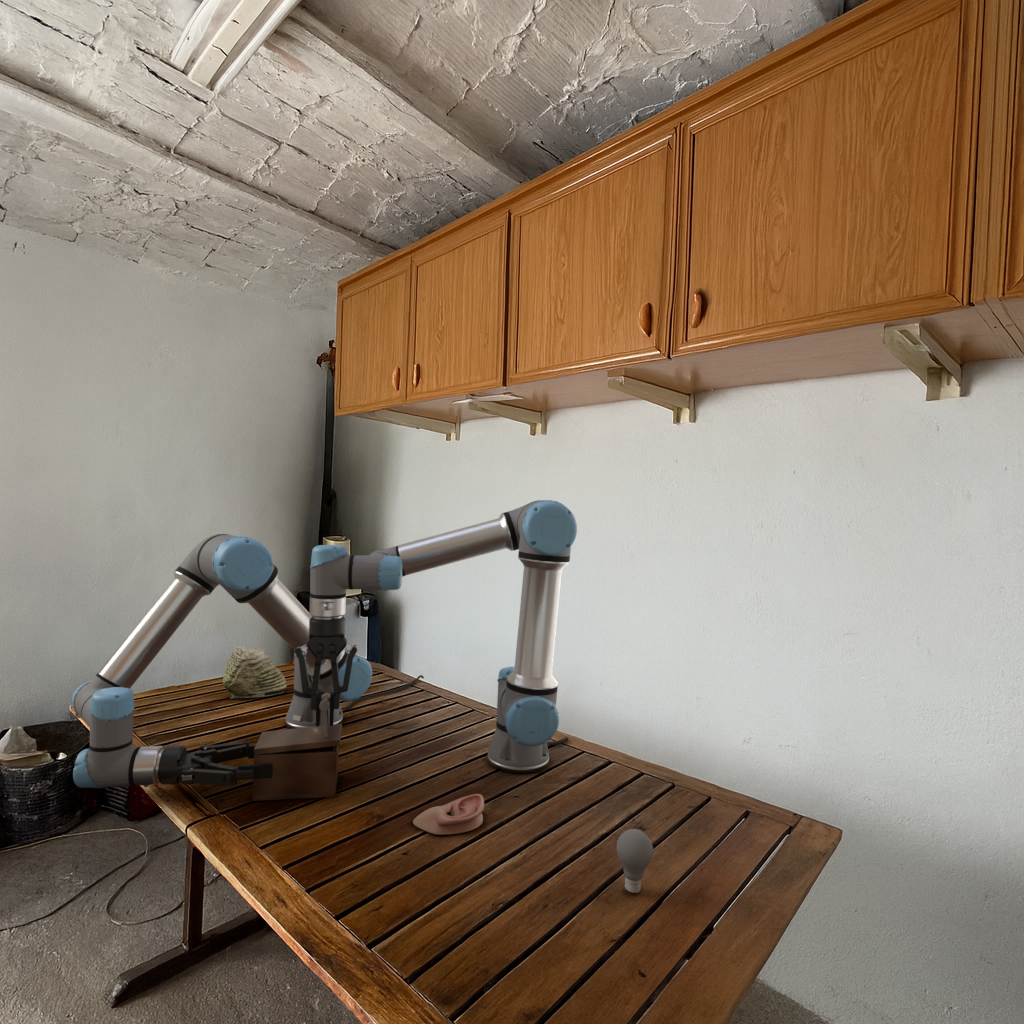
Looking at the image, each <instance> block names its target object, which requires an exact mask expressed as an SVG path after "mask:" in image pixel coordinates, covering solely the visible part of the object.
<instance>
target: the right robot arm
mask: <svg viewBox="0 0 1024 1024" xmlns="http://www.w3.org/2000/svg"><path fill="white" fill-rule="evenodd" d="M577 535H578V523H577V520H576V518H575V516H574V514H573V512H572V511H571V510H570V508H568V506H566V505H564V504H563V503H562V502H559V501H558V500H552V499H538V500H534V501H531V502H529V503H526V504H524V505H522V506H520V507H517V508H515V509H511V510H508V511H505V512H502V513H500V515H499V516H498V517H497V518H495V519H491V520H488V521H483V522H480V523H476V524H473V525H468V526H465V527H461V528H457V529H454V530H450V531H446V532H443V533H438V534H435V535H432V536H427V537H424V538H420V539H416V540H413V541H409V542H405V543H402V544H398V545H396V546H391V547H388V548H380V549H376V550H373V551H372V552H371V553H369V554H368V555H366V554H365V555H355V554H349V552H348V548H347V546H345V545H340V544H319V545H316V546H314V547H313V548H312V549H311V550H312V551H311V557H310V566H309V568H310V569H309V571H310V573H309V574H310V576H309V577H310V579H309V580H310V586H309V587H310V589H309V593H310V594H309V613H310V615H311V616H312V617H311V618H310V619H309V638H308V640H307V642H306V644H304V645H302V646H298V647H297V648H296V649H295V650H294V655H295V654H296V655H297V657H298V659H299V667H300V675H301V684H302V692H303V693H308V694H310V695H311V710H316V726H319V725H320V716H321V710H320V708H319V705H320V701H321V693H318V685H319V677H320V670H321V663H322V660H325V659H328V660H331V669H332V680H333V692H331V694H330V720H329V726H333V723H334V709H338V708H339V703H340V704H341V702H340V694H341V693H342V692H347V691H348V686H349V680H350V674H351V668H352V661H353V657H354V656H355V654H356V655H357V652H358V645H357V644H351V643H349V642H348V640H347V638H346V617H345V616H344V615H346V612H347V611H346V610H347V590H350V591H351V590H352V591H353V590H362V591H363V590H364V591H365V590H366V591H384V592H386V591H398V590H400V589H401V588H402V583H403V577H406V576H409V575H413V574H417V573H421V572H424V571H428V570H430V569H432V570H433V569H435V568H438V567H442V566H446V565H450V564H454V563H458V562H461V561H465V560H468V559H473V558H476V557H479V556H484V555H488V554H492V553H494V552H500V551H502V550H506V549H507V550H509V551H510V552H513V551H517V550H518V556H517V559H518V560H519V561H520V562H521V564H522V565H523V574H522V585H521V595H520V606H519V614H518V615H519V617H518V627H517V636H516V637H517V638H516V647H515V659H514V666H506V667H503V668H501V669H499V671H498V677H497V681H496V682H497V701H496V724H495V725H496V726H495V731H494V734H493V735H492V739H491V741H490V744H489V746H488V750H487V762H488V763H489V765H490V766H492V767H493V768H495V769H497V770H499V771H503V772H506V773H512V774H531V773H536V772H540V771H542V770H544V769H546V768H547V767H548V766H549V764H550V752H549V748H548V747H549V746H556V745H560V744H564V743H566V742H568V741H569V740H570V739H569V737H567V736H566V737H563V738H562V739H559V740H552V738H553V737H554V736H555V734H556V733H557V730H558V728H559V724H560V715H559V710H558V708H557V699H558V687H559V682H558V680H557V679H556V677H554V675H553V668H554V659H555V646H556V637H557V626H558V616H559V606H560V605H559V604H560V595H561V594H560V593H561V583H562V572H563V569H565V567H567V566H568V565H569V564H570V562H571V551H572V546H573V545H574V543H575V540H576V538H577ZM344 648H346V653H347V654H348V657H347V663H346V669H345V675H344V682H343V685H341V686H340V684H339V673H338V659H337V657H338V656H339V654H340V653H341V652H342V651H343V649H344ZM307 649H309V650H310V651H311V653H312V654H313V655H314V657H315V658H316V659H315V668H314V675H313V682H312V687H311V686H309V680H308V671H307V663H306V656H305V655H306V654H307ZM550 740H551V741H550Z"/></svg>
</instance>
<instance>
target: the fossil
mask: <svg viewBox="0 0 1024 1024" xmlns="http://www.w3.org/2000/svg"><path fill="white" fill-rule="evenodd" d="M222 676H223V677H222V685H223V687H224V688H225V690H226V691H228V693H229V698H230V699H250V698H264V697H271V696H275V695H281V694H284V693H285V691H286V689H287V687H288V686H287V680H286V678H285V676H284V674H283V673H282V672H281V669H279V668H278V667H277V665H276V663H275V662H274V660H273V659H272V658H271V657H270V656H269V655H268V654H267V653H266V652H265V650H264V649H263V648H260V647H258V648H251V647H247V646H246V647H245V646H238V647H237V648H236V649H235V650H233V651H232V653H231V656H230V657H229V659H228V660H227V663H226V666H225V668H224V671H223V675H222Z"/></svg>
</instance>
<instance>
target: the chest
mask: <svg viewBox="0 0 1024 1024" xmlns="http://www.w3.org/2000/svg"><path fill="white" fill-rule="evenodd" d="M339 752H340V745H339V746H331V747H322V748H313V749H304V750H295V751H286V752H277V753H268V754H259V755H254V759H253V764H273V769H272V778H262V779H252V798H251V799H252V802H259V801H261V802H262V801H277V800H294V799H296V800H297V799H298V800H299V799H315V798H316V799H317V798H334V797H336V791H337V784H338V777H339V755H340V753H339Z"/></svg>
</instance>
